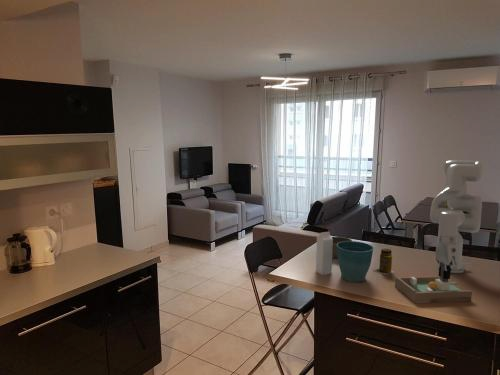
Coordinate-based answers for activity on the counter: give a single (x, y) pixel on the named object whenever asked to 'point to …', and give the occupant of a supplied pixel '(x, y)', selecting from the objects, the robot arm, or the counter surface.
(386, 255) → the condiment
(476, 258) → the counter surface
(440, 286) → the striker
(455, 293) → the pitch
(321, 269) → the milk
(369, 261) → the flower pot
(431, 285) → the ball
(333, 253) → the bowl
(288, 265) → the counter surface
